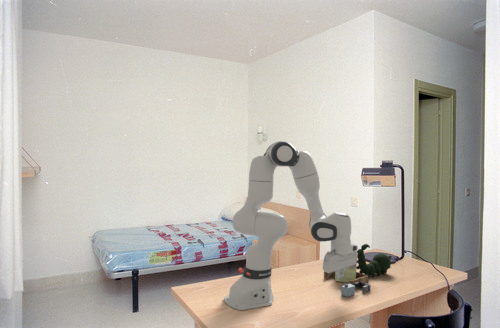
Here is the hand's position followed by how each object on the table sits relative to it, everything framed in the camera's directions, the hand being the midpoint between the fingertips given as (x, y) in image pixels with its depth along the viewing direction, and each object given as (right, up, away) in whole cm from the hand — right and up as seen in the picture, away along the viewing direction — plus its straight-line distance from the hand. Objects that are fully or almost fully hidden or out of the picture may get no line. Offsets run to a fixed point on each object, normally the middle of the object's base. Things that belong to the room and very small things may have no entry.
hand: (339, 277), depth 160 cm
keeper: (+13, -9, +9) cm, 18 cm away
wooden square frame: (+8, -9, +21) cm, 24 cm away
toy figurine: (+27, -9, +32) cm, 43 cm away
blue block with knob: (+5, -9, +4) cm, 11 cm away
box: (+9, -9, +22) cm, 26 cm away
